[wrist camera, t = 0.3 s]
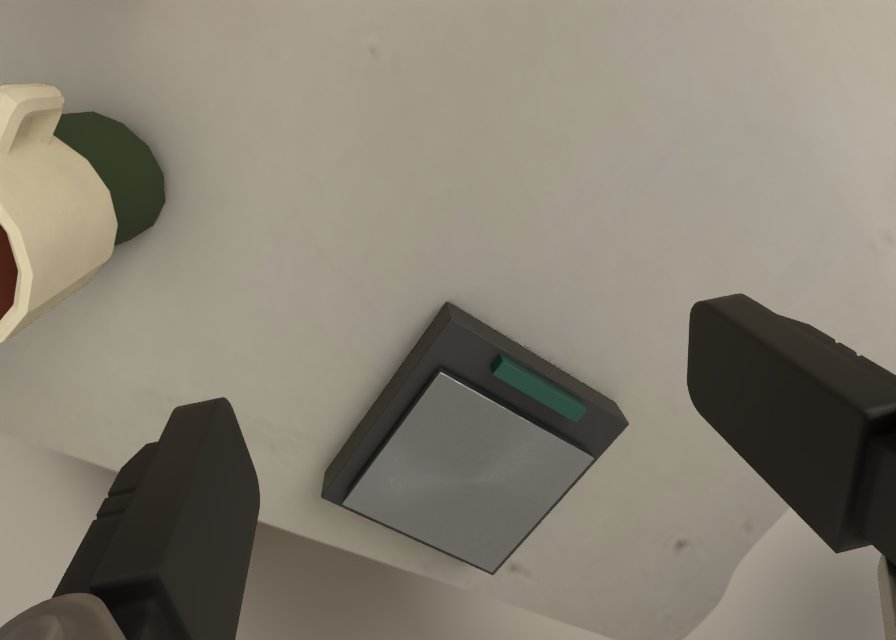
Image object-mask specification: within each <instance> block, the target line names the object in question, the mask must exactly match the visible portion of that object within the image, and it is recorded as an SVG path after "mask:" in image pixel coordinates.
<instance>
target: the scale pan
mask: <svg viewBox="0 0 896 640" xmlns="http://www.w3.org/2000/svg"><path fill="white" fill-rule="evenodd" d="M593 460H594V456H593V454H592V452H590V451H588V450H586V449H584V448H583V447H581V446H579V445H577V444H575V443H574V442H572V441H570V440H568V439H567V438H565V437H563V436H561V435H559V434H558V433H556V432H554V431H552V430H551V429H549V428H547V427H545V426H543V425H542V424H540V423H538V422H536V421H535V420H533V419H531V418H529V417H527V416H526V415H524V414H522V413H520V412H518V411H517V410H515V409H513V408H511V407H510V406H508V405H506V404H504V403H502V402H501V401H499V400H497V399H495V398H494V397H492V396H490V395H488V394H486V393H485V392H483V391H481V390H479V389H477V388H476V387H474V386H472V385H470V384H469V383H467V382H465V381H463V380H461V379H460V378H458V377H456V376H454V375H453V374H451V373H449V372H447V371H445V370H444V369H442V368H439V369H438V370H437V372H436V373H435V374H434V376H433V377H432V379H431V380H430V381H429V383H428V384H427V385H426V387H425V388H424V389H423V391H422V392H421V393H420V395H419V396H418V397H417V399H416V400H415V401H414V403H413V404H412V406H411V407H410V408H409V410H408V411H407V412H406V414H405V415H404V416H403V418H402V419H401V420H400V422H399V423H398V424H397V426H396V427H395V428H394V430H393V431H392V433H391V434H390V435H389V437H388V438H387V439H386V441H385V442H384V443H383V445H382V446H381V447H380V449H379V450H378V451H377V453H376V454H375V455H374V457H373V458H372V460H371V461H370V462H369V464H368V465H367V466H366V468H365V469H364V470H363V472H362V473H361V474H360V476H359V477H358V478H357V480H356V481H355V482H354V484H353V485H352V487H351V488H350V489H349V491H348V492H347V493H346V495H345V496H344V497H343V502H342V505H344V506H346V507H348V508H351V509H353V510H355V511H357V512H360V513H362V514H364V515H366V516H368V517H371V518H373V519H375V520H377V521H379V522H382V523H384V524H386V525H388V526H390V527H393V528H395V529H397V530H399V531H401V532H404V533H406V534H408V535H410V536H412V537H415V538H417V539H419V540H421V541H423V542H426V543H428V544H430V545H432V546H435V547H437V548H439V549H441V550H443V551H446V552H448V553H450V554H452V555H454V556H457V557H459V558H461V559H463V560H465V561H468V562H470V563H472V564H474V565H476V566H479V567H481V568H483V569H485V570H487V571H490V572H493V571H494V570H495V569H496V568H497V567H498V565H499V564H500V563H501V562H502V561H503V560H504V559H505V558H506V557H507V555H508V554H509V553H510V552H511V551H512V550H513V549H514V548H515V547H516V545H517V544H518V543H519V542H520V541H521V540H522V539H523V538H524V537H525V535H526V534H527V533H528V532H529V531H530V530H531V529H532V528H533V527H534V525H535V524H536V523H537V522H538V521H539V520H540V519H541V518H542V516H543V515H544V514H545V513H546V512H547V511H548V510H549V509H550V508H551V506H552V505H553V504H554V503H555V502H556V501H557V500H558V499H559V498H560V496H561V495H562V494H563V493H564V492H565V491H566V490H567V489H568V488H569V486H570V485H571V484H572V483H573V482H574V481H575V480H576V479H577V478H578V476H579V475H580V474H581V473H582V472H583V471H584V470H585V469H586V467H587V466H588V465H589V464H590V463H591V462H592V461H593Z"/></svg>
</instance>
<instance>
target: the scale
mask: <svg viewBox="0 0 896 640" xmlns="http://www.w3.org/2000/svg"><path fill="white" fill-rule="evenodd" d="M439 368H442V369H444V370H445V371H447V372H449V373H451V374H453V375H454V376H456V377H458V378H460V379H461V380H463V381H465V382H467V383H469V384H470V385H472V386H474V387H476V388H477V389H479V390H481V391H483V392H485V393H486V394H488V395H490V396H492V397H494V398H495V399H497V400H499V401H501V402H502V403H504V404H506V405H508V406H510V407H511V408H513V409H515V410H517V411H518V412H520V413H522V414H524V415H526V416H527V417H529V418H531V419H533V420H535V421H536V422H538V423H540V424H542V425H543V426H545V427H547V428H549V429H551V430H552V431H554V432H556V433H558V434H559V435H561V436H563V437H565V438H567V439H568V440H570V441H572V442H574V443H575V444H577V445H579V446H581V447H583V448H584V449H586V450H588V451H590V452H592V454H593V456H594V460H593V461H592V462H591V463H590V464H589V465H588V466H587V467H586V469H585V470H584V471H583V472H582V473H581V474H580V475H579V476H578V478H577V479H576V480H575V481H574V482H573V483H572V484H571V485H570V486H569V488H568V489H567V490H566V491H565V492H564V493H563V494H562V495H561V496H560V498H559V499H558V500H557V501H556V502H555V503H554V504H553V505H552V506H551V508H550V509H549V510H548V511H547V512H546V513H545V514H544V515H543V516H542V518H541V519H540V520H539V521H538V522H537V523H536V524H535V525H534V527H533V528H532V529H531V530H530V531H529V532H528V533H527V534H526V535H525V537H524V538H523V539H522V540H521V541H520V542H519V543H518V544H517V545H516V547H515V548H514V549H513V550H512V551H511V552H510V553H509V554H508V555H507V557H506V558H505V559H504V560H503V561H502V562H501V563H500V564H499V565H498V567H497V568H496V569H495V570H494V571H493V572H490V571H487V570H485V569H483V568H481V567H479V566H476V565H474V564H472V563H470V562H468V561H465V560H463V559H461V558H459V557H457V556H454V555H452V554H450V553H448V552H446V551H443V550H441V549H439V548H437V547H435V546H432V545H430V544H428V543H426V542H423V541H421V540H419V539H417V538H415V537H412V536H410V535H408V534H406V533H404V532H401V531H399V530H397V529H395V528H393V527H390V526H388V525H386V524H384V523H382V522H379V521H377V520H375V519H373V518H371V517H368V516H366V515H364V514H362V513H360V512H357V511H355V510H353V509H351V508H348V507H346V506H344V505H342V502H343V497H344V496H345V495H346V493H347V492H348V491H349V489H350V488H351V487H352V485H353V484H354V482H355V481H356V480H357V478H358V477H359V476H360V474H361V473H362V472H363V470H364V469H365V468H366V466H367V465H368V464H369V462H370V461H371V460H372V458H373V457H374V455H375V454H376V453H377V451H378V450H379V449H380V447H381V446H382V445H383V443H384V442H385V441H386V439H387V438H388V437H389V435H390V434H391V433H392V431H393V430H394V428H395V427H396V426H397V424H398V423H399V422H400V420H401V419H402V418H403V416H404V415H405V414H406V412H407V411H408V410H409V408H410V407H411V406H412V404H413V403H414V401H415V400H416V399H417V397H418V396H419V395H420V393H421V392H422V391H423V389H424V388H425V387H426V385H427V384H428V383H429V381H430V380H431V379H432V377H433V376H434V374H435V373H436V372H437V370H438V369H439ZM628 425H629V423H628V421H627V420H626V418H625V417H624V415H623V413H622V412H621V410H620V409H619V407H618V406H617V404H616V403H615V402H613V401H612V400H610V399H608V398H607V397H605V396H603V395H602V394H600V393H599V392H597V391H595V390H594V389H592V388H590V387H589V386H587V385H585V384H584V383H582V382H580V381H579V380H577V379H575V378H574V377H572V376H570V375H569V374H567V373H565V372H564V371H562V370H560V369H559V368H557V367H555V366H554V365H552V364H550V363H549V362H547V361H545V360H544V359H542V358H540V357H539V356H537V355H536V354H534V353H532V352H531V351H529V350H527V349H526V348H524V347H522V346H521V345H519V344H517V343H516V342H514V341H512V340H511V339H509V338H507V337H506V336H504V335H502V334H501V333H499V332H497V331H496V330H494V329H492V328H491V327H489V326H487V325H486V324H484V323H482V322H481V321H479V320H477V319H476V318H474V317H473V316H471V315H469V314H468V313H466V312H464V311H463V310H461V309H459V308H458V307H456V306H454V305H453V304H451V303H449V302H446V304H445V305H444V307H443V308H442V309H441V311H440V312H439V314H438V315H437V316H436V318H435V319H434V321H433V322H432V323H431V325H430V326H429V328H428V329H427V330H426V332H425V333H424V335H423V336H422V337H421V339H420V340H419V342H418V343H417V344H416V346H415V347H414V349H413V350H412V351H411V353H410V354H409V356H408V357H407V358H406V360H405V361H404V363H403V364H402V365H401V367H400V368H399V370H398V371H397V372H396V374H395V375H394V377H393V378H392V379H391V381H390V382H389V384H388V385H387V386H386V388H385V389H384V391H383V392H382V393H381V395H380V396H379V398H378V399H377V400H376V402H375V403H374V405H373V406H372V407H371V409H370V410H369V412H368V413H367V414H366V416H365V417H364V419H363V420H362V421H361V423H360V424H359V426H358V427H357V428H356V430H355V431H354V433H353V434H352V435H351V437H350V438H349V440H348V441H347V442H346V444H345V445H344V447H343V448H342V449H341V451H340V452H339V454H338V455H337V456H336V458H335V459H334V461H333V462H332V463H331V465H330V466H329V468H328V469H327V470H326V472H325V476H324V482H323V488H322V494H321V498H323V499H325V500H328V501H330V502H332V503H334V504H337V505H339V506H341V507H343V508H345V509H348V510H350V511H352V512H354V513H356V514H359V515H361V516H363V517H365V518H368V519H370V520H372V521H374V522H376V523H379V524H381V525H383V526H385V527H387V528H390V529H392V530H394V531H396V532H398V533H401V534H403V535H405V536H407V537H410V538H412V539H414V540H416V541H418V542H421V543H423V544H425V545H427V546H429V547H432V548H434V549H436V550H438V551H441V552H443V553H445V554H447V555H449V556H452V557H454V558H456V559H458V560H460V561H463V562H465V563H467V564H469V565H471V566H474V567H476V568H478V569H480V570H483V571H485V572H487V573H489V574H491V575H494V574H495V573H496V571H497V570H498V569H499V568H500V567H501V566H502V565H503V564H504V563H505V561H506V560H507V559H508V558H509V557H510V556H511V555H512V554H513V553H514V551H515V550H516V549H517V548H518V547H519V546H520V545H521V544H522V543H523V541H524V540H525V539H526V538H527V537H528V536H529V535H530V534H531V533H532V531H533V530H534V529H535V528H536V527H537V526H538V525H539V524H540V523H541V521H542V520H543V519H544V518H545V517H546V516H547V515H548V514H549V513H550V511H551V510H552V509H553V508H554V507H555V506H556V505H557V504H558V503H559V501H560V500H561V499H562V498H563V497H564V496H565V495H566V494H567V493H568V491H569V490H570V489H571V488H572V487H573V486H574V485H575V484H576V483H577V481H578V480H579V479H580V478H581V477H582V476H583V475H584V474H585V473H586V471H587V470H588V469H589V468H590V467H591V466H592V465H593V464H594V463H595V461H596V460H597V459H598V458H599V457H600V456H601V455H602V454H603V453H604V451H605V450H606V449H607V448H608V447H609V446H610V445H611V444H612V443H613V441H614V440H615V439H616V438H617V437H618V436H619V435H620V434H621V433H622V431H623V430H624V429H625V428H626V427H627V426H628Z"/></svg>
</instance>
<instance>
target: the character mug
mask: <svg viewBox="0 0 896 640" xmlns="http://www.w3.org/2000/svg"><path fill="white" fill-rule="evenodd" d="M64 100H65V99H64V97H63V96H62V94H61V93H60V92H59V90H58V89H57V88H55V87H53V86H51V85H45V84H40V83H34V84H15V85H2V86H0V342H3V341H5V340H6V339H8V338H10V337H12V336H13V335H15V334H16V333H18V332H19V331H21V330H22V329H23V328H25V327H26V326H28V325H29V324H31V323H32V322H33V321H35V320H36V319H38V318H39V317H40V316H42V315H43V314H45V313H46V312H47V311H49V310H50V309H52V308H53V307H55V306H56V305H57V304H59V303H60V302H62V301H63V300H64V299H66V298H67V297H69V296H70V295H72V294H73V293H74V292H76V291H77V290H79V289H80V288H81V287H83V286H84V285H86V284H87V283H88V282H89V281H90V279H91V278H92V277H93V276H94V275H95V274H96V272H97V271H98V270H99V269H100V268H101V267H102V266H103V264H104V263H105V262H106V261H107V260H108V259H109V258H110V257H111V256H112V252H113V247H114V246H116V245H118V244H121V243H123V242H126V241H128V240H131V239H132V238H134V237H135V236H137V235H138V234H140V233H142V232H143V231H145V230H146V229H148V228H149V227H151V226H153V225H154V223H155V221H156V219H157V217H158V215H159V213H160V211H161V209H162V207H163V205H164V203H165V193H164V178H163V173H162V171H161V169H160V167H159V165H158V164H157V162H156V160H155V158H154V156H153V154H152V153H151V151H150V149H149V147H148V146H147V145H146V144H145V143H144V142H143V141H142V140H140V139H139V138H138V137H137V136H136V135H135V134H134V133H133V132H131V131H130V130H129V129H128V128H127V127H126V126H125V125H123V124H122V123H120V122H117V121H115V120H112V119H110V118H108V117H105V116H103V115H100V114H98V113H95V112H83V113H70V114H62V115H61V113H62V109H63V105H64Z"/></svg>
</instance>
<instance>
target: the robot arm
mask: <svg viewBox="0 0 896 640" xmlns="http://www.w3.org/2000/svg"><path fill="white" fill-rule="evenodd" d="M687 385H688V391H689V394H690V397H691V400H692V402H693V404H694V406H695V408H696V410H697V411H698V412H699V414H700V415H701V416H702V417H703V418H704V419H705V420H706V421H707V422H708V423H709V424H710V425H711V426H712V427H713V428H714V429H715V430H716V431H717V432H718V433H719V434H720V435H721V436H722V437H723V438H724V439H725V440H726V441H727V442H728V443H729V444H730V445H731V446H732V447H733V449H734V450H735V451H736V452H737V453H738V454H739V455H740V456H741V457H742V458H743V459H744V460H745V461H746V462H747V463H748V464H749V465H750V466H751V467H752V468H753V469H754V470H755V471H756V472H757V473H758V474H759V475H760V476H761V477H762V478H763V479H764V480H765V481H766V482H767V483H768V484H769V485H770V486H771V487H772V488H773V489H774V490H775V491H776V492H777V494H778V495H779V496H780V497H781V498H782V499H783V500H784V501H785V502H786V503H787V504H788V505H789V506H790V507H791V508H792V509H793V510H794V511H796V513H797V514H798V515H799V516H800V517H801V518H802V519H803V520H804V521H805V522H806V523H807V524H808V525H809V526H810V527H811V528H812V529H813V530H814V531H815V532H816V533H817V534H818V535H819V536H820V537H821V538H822V539H823V541H824V542H825V543H826V544H827V545H828V546H829V547H830V548H831V549H832V550H833V551H834V552H835V553H840V552H845V551H848V550H852V549H857V548H861V547H865V546H869V545H873V546H874V547H875V548H876V549H877V550H878V551H880V552H881V553H882V554H881V558H880V562H879V565H878V581H879V589H880V597H881V605H882V613H883V621H884V629H885V637H886V640H896V375H894V374H893V373H891V372H889V371H887V370H886V369H884V368H882V367H881V366H879V365H877V364H876V363H874V362H872V361H870V360H869V359H867V358H865V357H864V356H862V355H861V356H857V354H856V352H855V351H853V350H852V349H850V348H848V347H847V346H845V345H843V344H842V343H836V342H835V339H833V338H831V337H830V336H828V335H826V334H825V333H823V332H821V331H819V330H818V329H816V328H814V327H813V326H811V325H809V324H806V323H803V322H800V321H796V320H793V319H790V318H787V317H784V316H781V315H777V314H776V313H774V312H772V311H771V310H769V309H767V308H766V307H764V306H763V305H761V304H759V303H758V302H756V301H754V300H753V299H751V298H749V297H748V296H746V295H744V294H734V295H729V296H724V297H719V298H714V299H709V300H704V301H699V302H697V303H695V304H694V305H693V307H692V309H691V313H690V324H689V346H688V368H687ZM108 496H109V497H108V498H105V500H104V501H103V503H102V505H101V507H100V509H99V511H98V513H97V520H94V521H93V522H92V524H91V526H90V528H89V529H88V531H87V533H86V535H85V537H84V539H83V541H82V542H81V544H80V546H79V548H78V550H77V552H76V554H75V556H74V557H73V559H72V561H71V563H70V565H69V567H68V568H67V570H66V572H65V574H64V576H63V578H62V580H61V582H60V583H59V585H58V587H57V589H56V591H55V593H54V595H53V597H52V598H51V599H49V600H46V601H43V602H41V603H39V604H37V605H35V606H33V607H31V608H29V609H27V610H26V611H24V612H22V613H20V614H19V615H17V616H16V617H14V618H13V619H12V620H10V621H9V622H7V623H6V624H5V625H3V626H2V627H1V628H0V640H235V637H236V631H237V626H238V621H239V615H240V610H241V605H242V599H243V594H244V589H245V583H246V578H247V573H248V567H249V562H250V556H251V551H252V546H253V541H254V535H255V530H256V525H257V519H258V514H259V508H260V492H259V484H258V479H257V475H256V471H255V468H254V465H253V463H252V460H251V457H250V454H249V452H248V449H247V446H246V443H245V441H244V438H243V435H242V432H241V430H240V427H239V424H238V422H237V419H236V416H235V413H234V411H233V408H232V406H231V404H230V402H229V401H228V400H227V399H226V398H224V397H222V398H217V399H212V400H207V401H202V402H197V403H193V404H188V405H183V406H178V407H176V408H175V409H174V410H173V412H172V414H171V416H170V418H169V420H168V422H167V424H166V427H165V429H164V431H163V433H162V435H161V437H160V439H159V441H158V442H154V443H149V444H146V445H145V446H144V447H143V448H142V449H141V450H140V451H139V452H138V453H137V454H135V455H134V456H133V457H132V458H131V459H130V460H129V461H128V462H127V463H126V464H125V465H124V466H123V467H122V468H121V470H120V472H119V473H118V475H117V477H116V479H115V481H114V483H113V485H112V487H111V488H110V490H109V492H108Z"/></svg>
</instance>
